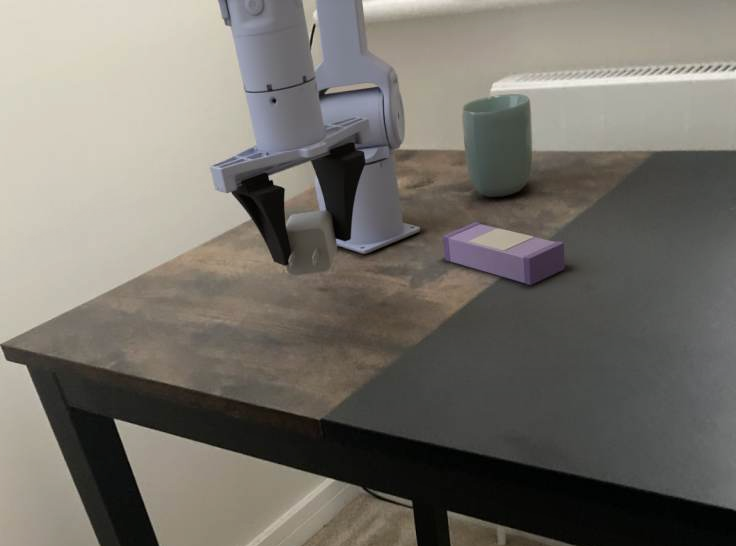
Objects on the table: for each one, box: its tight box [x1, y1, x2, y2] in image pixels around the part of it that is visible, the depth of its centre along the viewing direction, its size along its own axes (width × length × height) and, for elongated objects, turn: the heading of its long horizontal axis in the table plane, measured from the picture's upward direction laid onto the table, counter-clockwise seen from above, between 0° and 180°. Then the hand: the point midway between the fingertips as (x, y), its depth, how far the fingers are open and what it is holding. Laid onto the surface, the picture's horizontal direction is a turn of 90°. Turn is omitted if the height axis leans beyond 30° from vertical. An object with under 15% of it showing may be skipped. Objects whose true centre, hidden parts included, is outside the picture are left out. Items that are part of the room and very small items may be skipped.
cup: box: [461, 93, 533, 198], centre depth 104 cm, size 8×8×10 cm
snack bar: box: [442, 221, 566, 286], centre depth 87 cm, size 12×4×3 cm, turn 36°
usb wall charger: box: [285, 210, 338, 277], centre depth 77 cm, size 4×7×4 cm, turn 174°
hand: (312, 250), depth 78 cm, fingers closed on usb wall charger, 6 cm apart
